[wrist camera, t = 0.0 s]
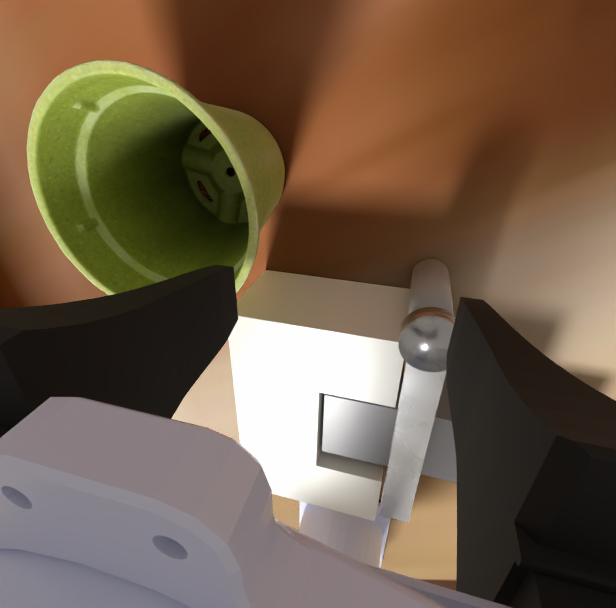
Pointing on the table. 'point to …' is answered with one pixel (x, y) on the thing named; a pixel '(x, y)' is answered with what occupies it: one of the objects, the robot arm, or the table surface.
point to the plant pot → (148, 176)
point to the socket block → (320, 374)
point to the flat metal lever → (415, 405)
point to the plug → (386, 433)
